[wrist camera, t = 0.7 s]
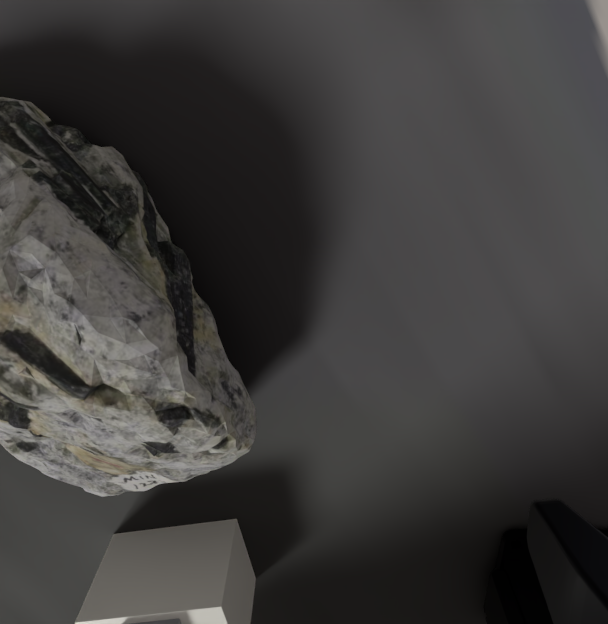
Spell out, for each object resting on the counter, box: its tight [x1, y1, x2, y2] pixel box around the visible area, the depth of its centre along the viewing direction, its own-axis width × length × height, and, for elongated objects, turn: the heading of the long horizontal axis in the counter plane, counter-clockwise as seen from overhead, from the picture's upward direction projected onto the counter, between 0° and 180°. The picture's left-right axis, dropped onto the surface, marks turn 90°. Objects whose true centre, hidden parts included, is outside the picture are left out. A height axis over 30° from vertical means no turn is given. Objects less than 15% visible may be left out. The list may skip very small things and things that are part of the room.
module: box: [75, 519, 256, 624], centre depth 23 cm, size 6×4×5 cm, turn 101°
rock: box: [0, 97, 257, 497], centre depth 17 cm, size 15×10×7 cm
